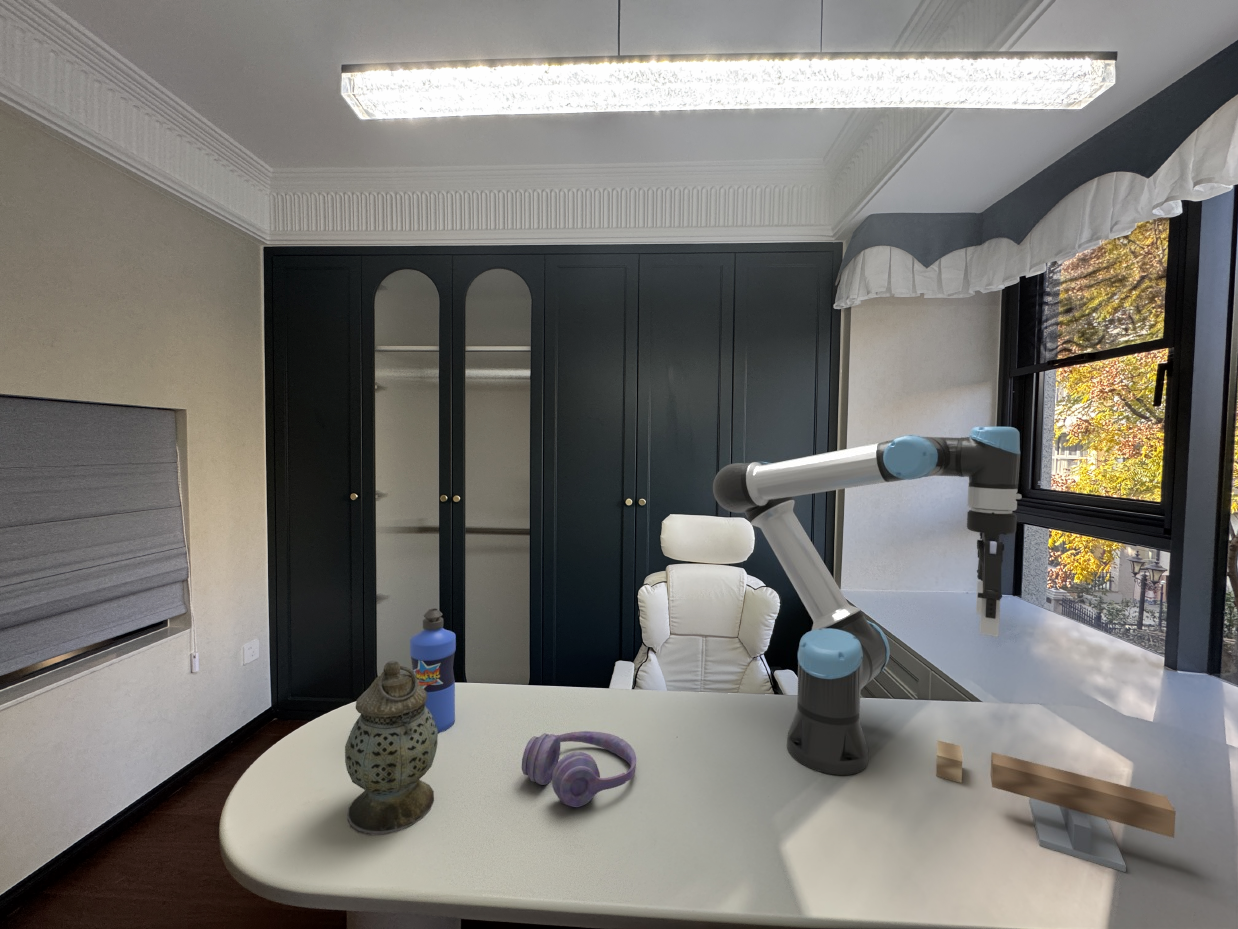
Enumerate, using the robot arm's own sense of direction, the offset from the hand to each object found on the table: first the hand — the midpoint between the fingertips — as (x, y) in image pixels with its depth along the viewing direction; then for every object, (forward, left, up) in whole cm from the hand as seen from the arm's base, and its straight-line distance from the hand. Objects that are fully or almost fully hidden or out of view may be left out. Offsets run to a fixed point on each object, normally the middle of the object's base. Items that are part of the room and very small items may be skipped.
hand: (986, 624), depth 102 cm
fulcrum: (+12, -11, -29) cm, 33 cm away
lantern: (-85, -64, -29) cm, 110 cm away
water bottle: (-101, -42, -29) cm, 113 cm away
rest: (-5, -2, -29) cm, 29 cm away
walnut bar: (+12, -11, -24) cm, 29 cm away
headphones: (-63, -40, -29) cm, 80 cm away
